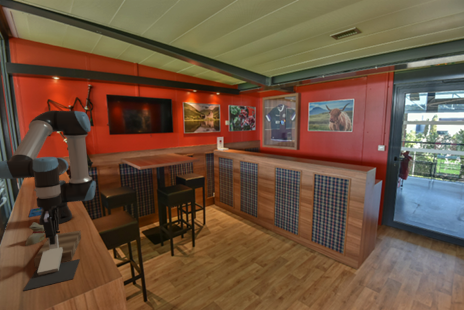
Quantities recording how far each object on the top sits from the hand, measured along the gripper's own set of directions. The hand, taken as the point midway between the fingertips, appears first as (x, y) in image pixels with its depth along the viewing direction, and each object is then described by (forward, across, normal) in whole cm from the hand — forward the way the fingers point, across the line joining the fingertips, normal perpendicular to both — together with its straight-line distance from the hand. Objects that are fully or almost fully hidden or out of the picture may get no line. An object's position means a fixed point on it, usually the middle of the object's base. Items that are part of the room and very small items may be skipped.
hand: (54, 250), depth 89 cm
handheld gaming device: (+6, -68, -25) cm, 73 cm away
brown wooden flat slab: (+5, -8, 0) cm, 9 cm away
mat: (+5, +10, +2) cm, 11 cm away
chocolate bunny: (+5, -23, -13) cm, 27 cm away
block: (+2, +5, 0) cm, 5 cm away
